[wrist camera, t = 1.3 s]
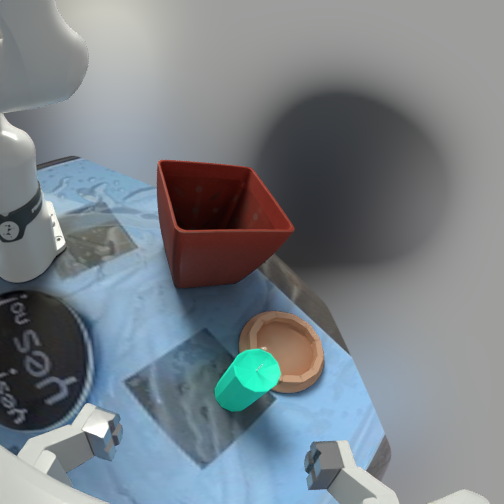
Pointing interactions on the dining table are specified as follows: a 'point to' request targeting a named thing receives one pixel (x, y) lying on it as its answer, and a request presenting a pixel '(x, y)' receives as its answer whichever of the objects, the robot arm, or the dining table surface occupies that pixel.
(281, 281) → the dining table surface
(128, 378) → the dining table surface
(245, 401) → the candle
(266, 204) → the plant pot
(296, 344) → the saucer
